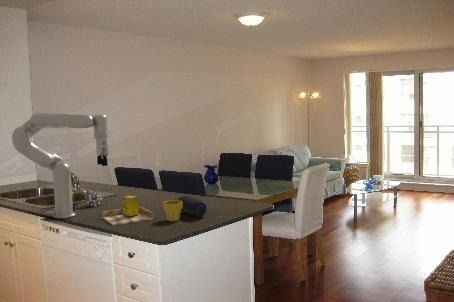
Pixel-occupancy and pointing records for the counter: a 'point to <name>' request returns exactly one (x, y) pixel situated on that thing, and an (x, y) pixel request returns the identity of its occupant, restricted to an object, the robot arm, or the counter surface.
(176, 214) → the plant pot
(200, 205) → the portable speaker
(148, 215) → the arena
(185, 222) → the counter surface
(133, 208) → the supplement box
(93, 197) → the passion flower
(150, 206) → the counter surface
